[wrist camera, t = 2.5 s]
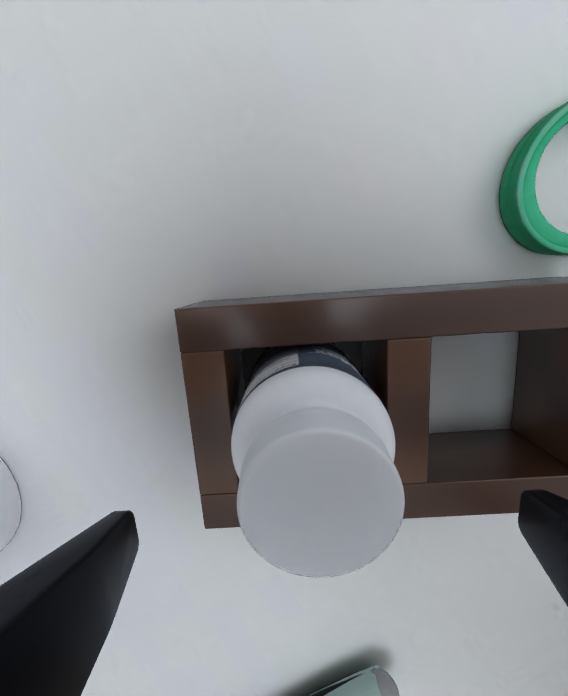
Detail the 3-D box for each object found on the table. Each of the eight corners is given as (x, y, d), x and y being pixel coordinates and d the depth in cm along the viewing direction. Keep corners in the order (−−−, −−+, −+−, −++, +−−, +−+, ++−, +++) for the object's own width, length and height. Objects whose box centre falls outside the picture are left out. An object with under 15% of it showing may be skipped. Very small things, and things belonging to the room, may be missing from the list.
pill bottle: (377, 393, 16) (481, 526, 8) (296, 453, 17) (306, 637, 8) (311, 312, 15) (343, 357, 7) (229, 378, 16) (163, 496, 7)
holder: (202, 300, 15) (173, 309, 11) (559, 276, 15) (655, 276, 11) (223, 472, 17) (204, 529, 13) (539, 454, 17) (615, 508, 13)
